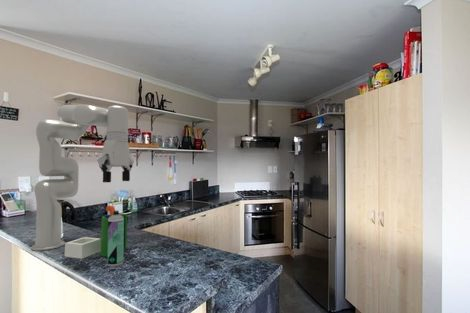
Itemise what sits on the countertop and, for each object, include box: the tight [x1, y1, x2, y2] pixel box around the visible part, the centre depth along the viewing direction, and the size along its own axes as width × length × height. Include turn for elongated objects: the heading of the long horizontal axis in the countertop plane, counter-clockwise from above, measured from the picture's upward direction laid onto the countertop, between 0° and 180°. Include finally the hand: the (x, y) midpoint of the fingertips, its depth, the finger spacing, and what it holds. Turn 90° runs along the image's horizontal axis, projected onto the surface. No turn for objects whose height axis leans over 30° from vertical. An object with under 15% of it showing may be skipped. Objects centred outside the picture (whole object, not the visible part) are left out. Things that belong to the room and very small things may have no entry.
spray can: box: [107, 210, 125, 267], centre depth 94 cm, size 6×6×20 cm
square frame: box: [64, 236, 101, 259], centre depth 105 cm, size 9×9×6 cm
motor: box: [100, 205, 128, 258], centre depth 107 cm, size 10×9×20 cm
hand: (116, 181), depth 95 cm, fingers open, 9 cm apart
